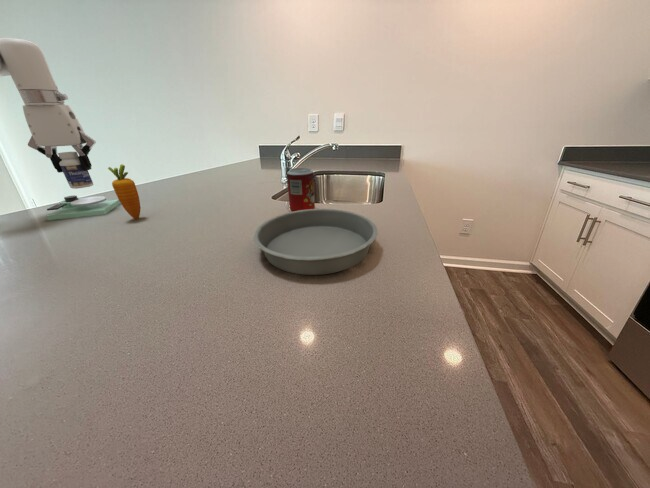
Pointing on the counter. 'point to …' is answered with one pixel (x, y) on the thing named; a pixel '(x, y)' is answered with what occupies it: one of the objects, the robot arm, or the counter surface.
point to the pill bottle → (74, 171)
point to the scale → (83, 209)
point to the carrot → (126, 192)
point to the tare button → (70, 198)
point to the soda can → (301, 189)
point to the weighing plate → (88, 201)
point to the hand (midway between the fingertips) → (75, 170)
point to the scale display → (57, 206)
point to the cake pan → (316, 240)
